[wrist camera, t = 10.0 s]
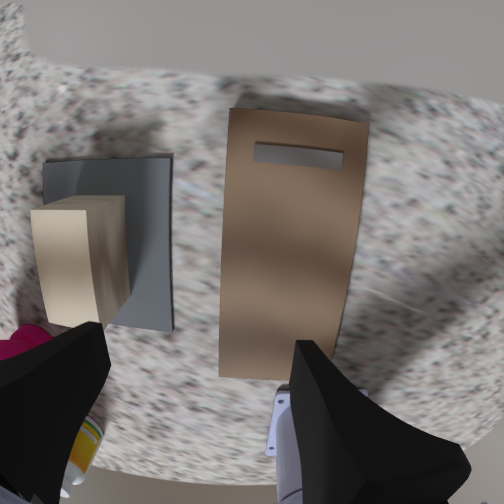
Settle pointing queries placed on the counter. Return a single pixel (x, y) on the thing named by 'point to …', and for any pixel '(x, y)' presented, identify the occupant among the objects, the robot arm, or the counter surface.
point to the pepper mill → (23, 340)
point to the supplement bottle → (81, 455)
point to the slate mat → (129, 226)
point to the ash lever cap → (82, 258)
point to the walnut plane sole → (286, 236)
